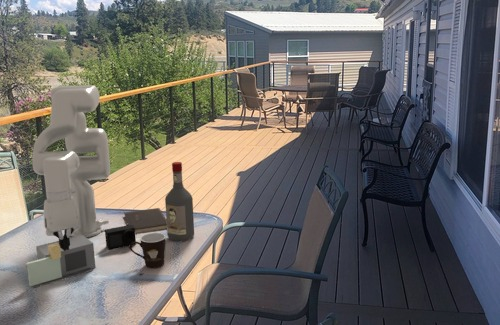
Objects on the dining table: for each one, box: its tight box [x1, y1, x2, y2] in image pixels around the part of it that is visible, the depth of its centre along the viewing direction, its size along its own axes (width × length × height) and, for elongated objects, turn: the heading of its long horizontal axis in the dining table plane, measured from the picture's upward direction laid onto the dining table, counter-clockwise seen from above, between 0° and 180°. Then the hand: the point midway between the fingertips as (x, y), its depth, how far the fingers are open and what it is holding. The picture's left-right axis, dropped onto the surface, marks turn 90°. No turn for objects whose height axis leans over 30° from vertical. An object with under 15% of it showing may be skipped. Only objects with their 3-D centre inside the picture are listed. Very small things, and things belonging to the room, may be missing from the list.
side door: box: [26, 243, 62, 287], centre depth 169 cm, size 10×3×12 cm, turn 128°
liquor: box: [164, 161, 195, 243], centre depth 205 cm, size 9×9×30 cm
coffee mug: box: [129, 232, 167, 269], centre depth 183 cm, size 12×9×10 cm
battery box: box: [32, 235, 96, 288], centre depth 178 cm, size 21×12×9 cm, turn 128°
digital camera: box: [104, 224, 137, 251], centre depth 200 cm, size 10×5×7 cm, turn 118°
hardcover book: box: [123, 207, 167, 234], centre depth 226 cm, size 16×23×2 cm
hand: (65, 248), depth 172 cm, fingers closed
